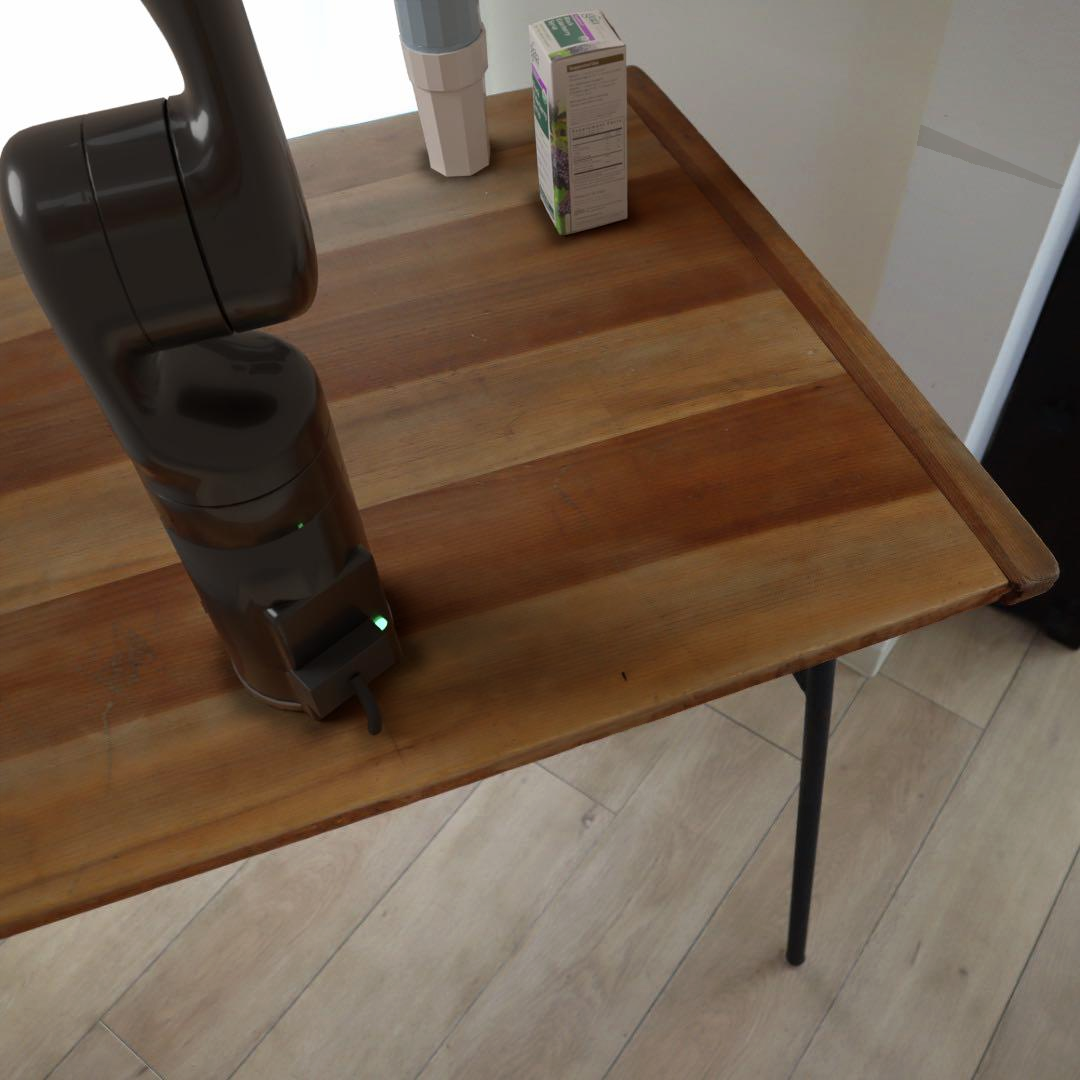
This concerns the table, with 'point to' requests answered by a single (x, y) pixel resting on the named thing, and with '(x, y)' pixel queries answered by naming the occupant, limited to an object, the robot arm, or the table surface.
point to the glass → (438, 24)
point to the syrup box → (580, 119)
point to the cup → (452, 105)
